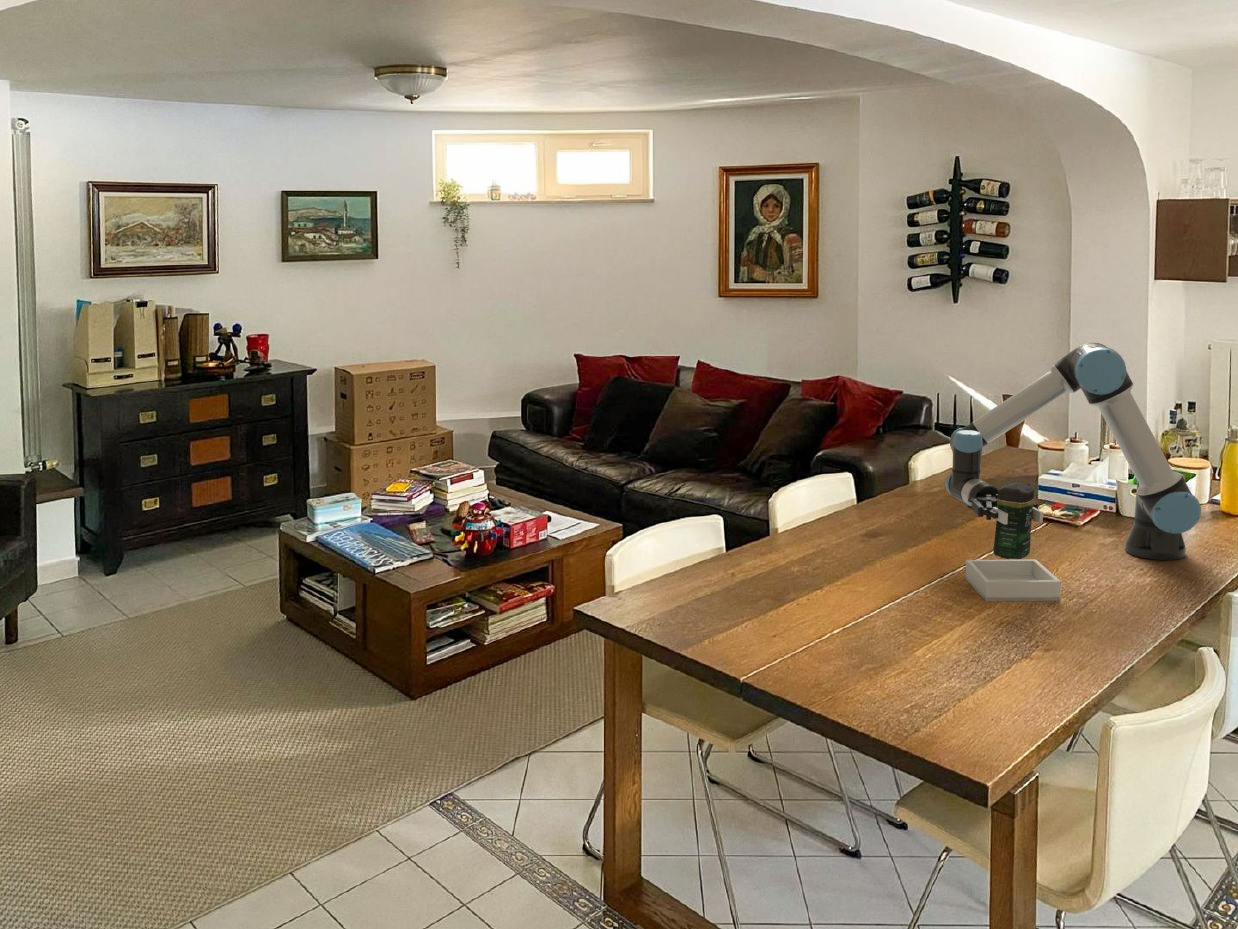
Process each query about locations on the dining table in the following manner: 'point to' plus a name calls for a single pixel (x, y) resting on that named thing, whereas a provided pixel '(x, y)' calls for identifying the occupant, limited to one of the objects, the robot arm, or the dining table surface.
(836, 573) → the dining table surface
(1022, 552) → the coffee jar
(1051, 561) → the dining table surface
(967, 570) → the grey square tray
